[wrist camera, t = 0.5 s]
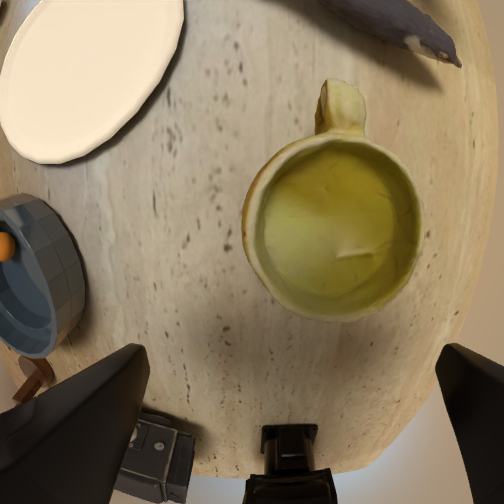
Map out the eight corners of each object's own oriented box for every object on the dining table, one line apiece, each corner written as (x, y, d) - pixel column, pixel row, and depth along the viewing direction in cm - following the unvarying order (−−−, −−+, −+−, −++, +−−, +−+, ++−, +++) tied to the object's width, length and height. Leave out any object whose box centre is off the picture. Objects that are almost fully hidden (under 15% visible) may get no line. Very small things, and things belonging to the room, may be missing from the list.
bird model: (266, -37, 13) (267, -71, 8) (445, 57, 15) (479, 44, 10) (242, -4, 14) (237, -39, 10) (432, 94, 16) (469, 85, 12)
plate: (236, 62, 16) (234, 56, 15) (41, 208, 20) (32, 212, 19) (137, -63, 11) (133, -69, 10) (-7, 64, 15) (-14, 62, 13)
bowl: (103, 339, 25) (79, 373, 19) (13, 319, 25) (-11, 341, 20) (74, 185, 20) (31, 196, 14) (-15, 199, 20) (-48, 211, 15)
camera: (105, 417, 31) (204, 453, 30) (70, 471, 21) (182, 521, 20) (92, 368, 28) (210, 412, 27) (41, 431, 17) (180, 499, 16)
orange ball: (22, 256, 21) (4, 267, 19) (7, 255, 21) (-11, 265, 19) (17, 227, 20) (-3, 236, 18) (2, 228, 20) (-17, 236, 18)
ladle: (89, 434, 32) (72, 469, 25) (65, 425, 32) (47, 457, 25) (44, 353, 26) (12, 391, 19) (20, 345, 27) (-11, 378, 19)
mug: (374, 306, 20) (400, 359, 11) (252, 267, 23) (191, 290, 13) (413, 155, 18) (460, 103, 9) (291, 122, 21) (258, 54, 12)
